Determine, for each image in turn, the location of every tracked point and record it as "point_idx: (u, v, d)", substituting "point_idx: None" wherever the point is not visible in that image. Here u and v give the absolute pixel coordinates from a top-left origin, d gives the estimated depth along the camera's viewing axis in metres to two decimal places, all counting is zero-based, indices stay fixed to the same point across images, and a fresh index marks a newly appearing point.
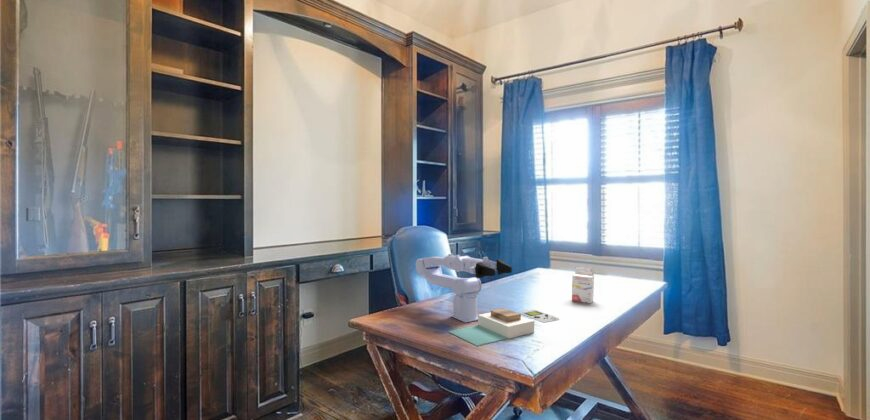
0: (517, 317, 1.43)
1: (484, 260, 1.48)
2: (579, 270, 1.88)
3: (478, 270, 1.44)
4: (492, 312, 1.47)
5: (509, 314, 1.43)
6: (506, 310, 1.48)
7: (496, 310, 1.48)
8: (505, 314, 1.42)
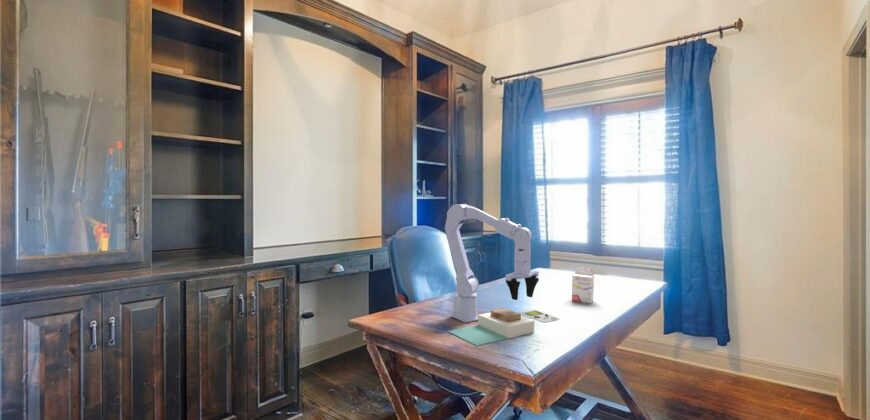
0: (517, 317, 1.43)
1: (526, 276, 1.47)
2: (579, 270, 1.88)
3: None
4: (492, 312, 1.47)
5: (509, 314, 1.43)
6: (506, 310, 1.48)
7: (496, 310, 1.48)
8: (505, 314, 1.42)
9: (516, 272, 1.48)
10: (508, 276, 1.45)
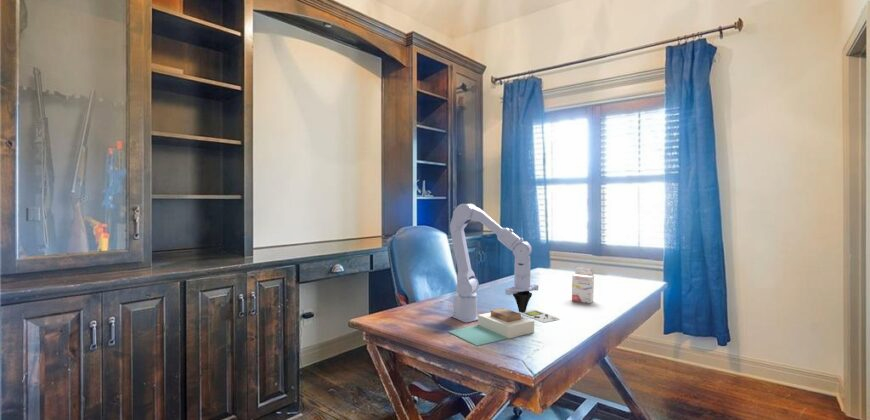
0: (517, 317, 1.43)
1: (526, 290, 1.47)
2: (579, 270, 1.88)
3: None
4: (492, 312, 1.47)
5: (509, 314, 1.43)
6: (506, 310, 1.48)
7: (496, 310, 1.48)
8: (505, 314, 1.42)
9: (516, 286, 1.48)
10: (508, 290, 1.45)
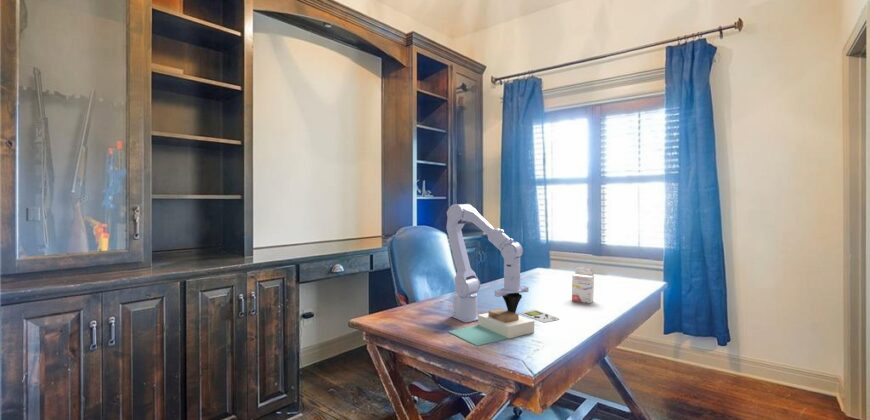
0: (515, 318, 1.42)
1: (515, 292, 1.44)
2: (579, 270, 1.88)
3: None
4: (490, 313, 1.47)
5: (507, 314, 1.42)
6: (504, 310, 1.47)
7: (494, 310, 1.47)
8: (502, 315, 1.42)
9: (505, 288, 1.46)
10: (497, 292, 1.43)
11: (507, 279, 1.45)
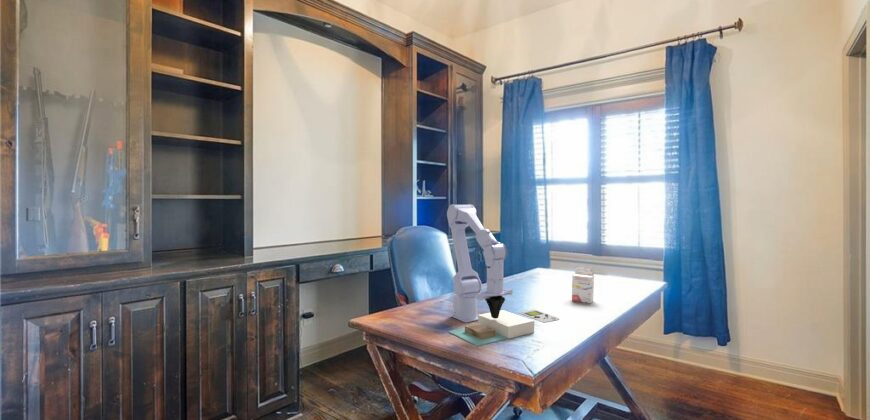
0: (485, 335, 1.35)
1: (498, 295, 1.40)
2: (579, 270, 1.88)
3: None
4: None
5: None
6: None
7: None
8: None
9: (488, 290, 1.41)
10: (479, 295, 1.38)
11: (490, 281, 1.41)
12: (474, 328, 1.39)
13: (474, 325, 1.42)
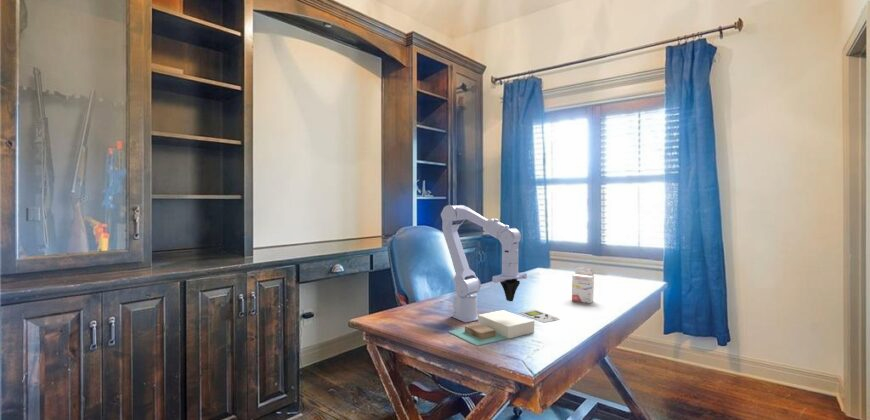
0: (485, 335, 1.35)
1: None
2: (579, 270, 1.88)
3: None
4: None
5: None
6: None
7: None
8: None
9: (503, 274, 1.45)
10: (495, 278, 1.42)
11: (505, 265, 1.44)
12: (474, 328, 1.39)
13: (474, 325, 1.42)
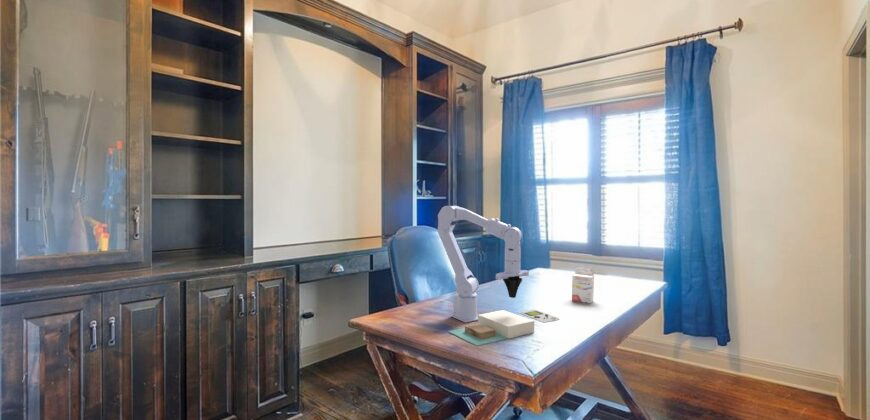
0: (485, 335, 1.35)
1: (516, 275, 1.48)
2: (579, 270, 1.88)
3: None
4: None
5: None
6: None
7: None
8: None
9: (506, 271, 1.50)
10: (498, 275, 1.47)
11: (508, 263, 1.49)
12: (474, 328, 1.39)
13: (474, 325, 1.42)
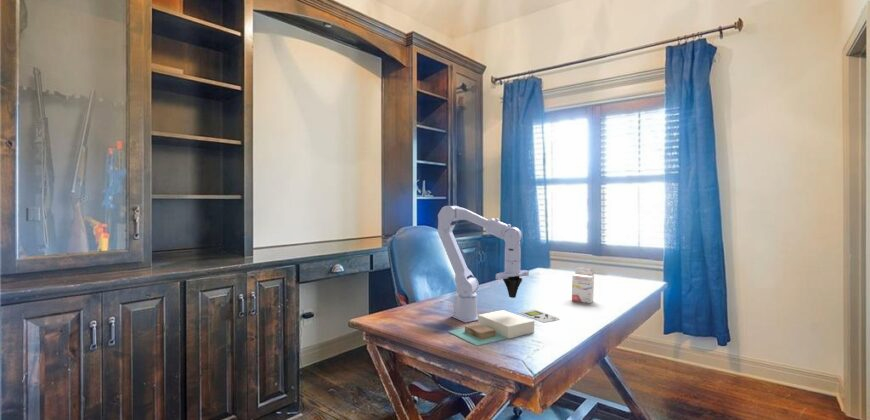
0: (485, 335, 1.35)
1: (516, 275, 1.48)
2: (579, 270, 1.88)
3: None
4: None
5: None
6: None
7: None
8: None
9: (506, 271, 1.50)
10: (498, 275, 1.47)
11: (508, 263, 1.49)
12: (474, 328, 1.39)
13: (474, 325, 1.42)
